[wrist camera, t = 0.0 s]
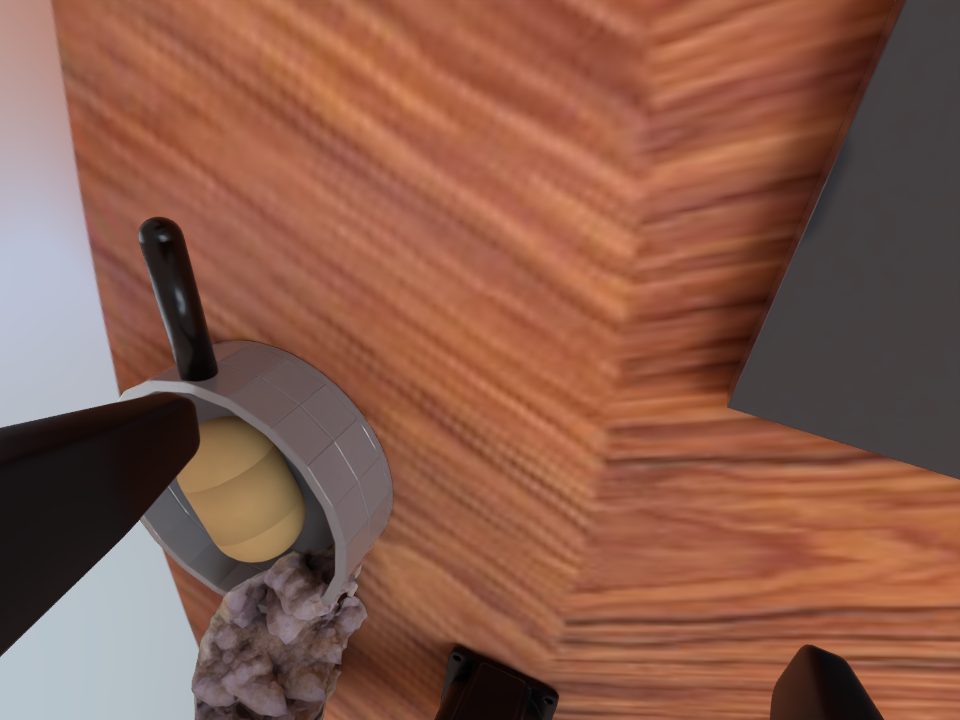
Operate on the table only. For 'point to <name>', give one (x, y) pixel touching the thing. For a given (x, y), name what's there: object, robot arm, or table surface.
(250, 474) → the potato
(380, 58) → the table surface
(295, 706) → the mineral specimen
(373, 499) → the pan
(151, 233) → the pan handle
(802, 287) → the slate board
